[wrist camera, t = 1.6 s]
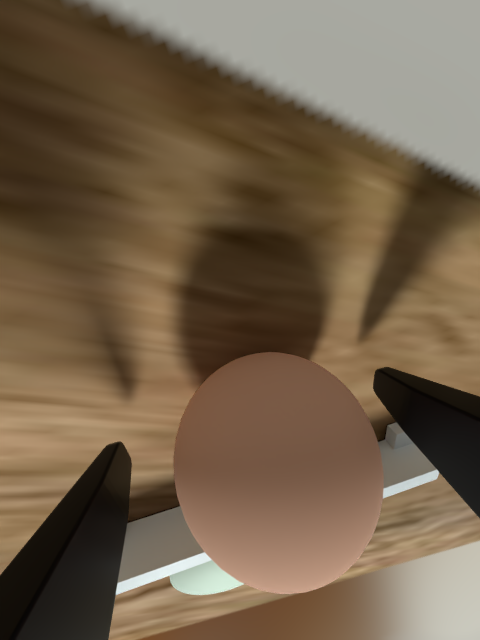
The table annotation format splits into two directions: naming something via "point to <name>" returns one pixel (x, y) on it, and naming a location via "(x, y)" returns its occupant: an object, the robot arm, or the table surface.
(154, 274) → the table surface
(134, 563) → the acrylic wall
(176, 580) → the felt coaster
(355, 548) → the ball
